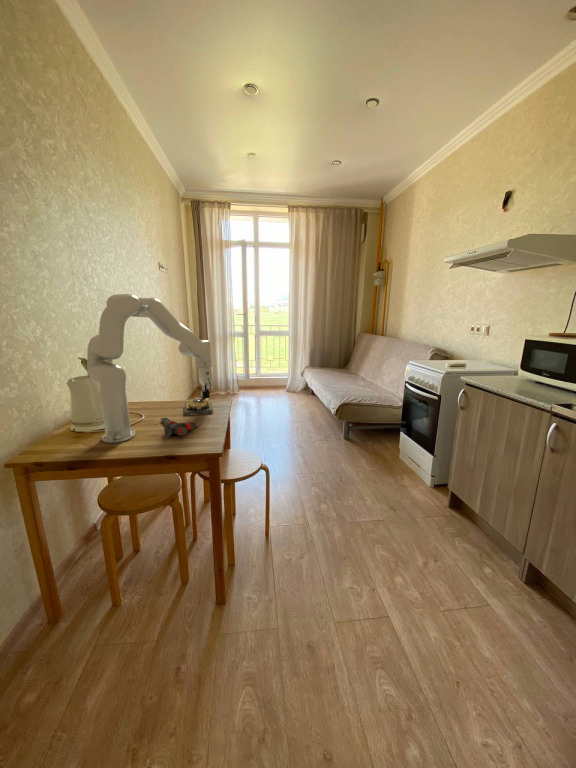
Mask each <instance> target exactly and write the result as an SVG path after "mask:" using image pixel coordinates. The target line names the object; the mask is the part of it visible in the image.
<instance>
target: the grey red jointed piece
mask: <svg viewBox="0 0 576 768" xmlns="http://www.w3.org/2000/svg"><path fill="white" fill-rule="evenodd" d="M160 420H161V421H162V422H163V423H165V424H164V429H163V430H164V435H165V436H166V437H167V438H170V437H171V436H172V434H173V435H174V434H175V435H178V436H186V435H187V434H188V432H192V431H193V430H194V428H197V427H198V424H197V423H196V422H191V421H190V422H188V421H187V422H176V421H173V420H171V419H170V418H168V417H166V416H165V417H160Z"/></svg>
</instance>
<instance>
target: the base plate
mask: <svg viewBox="0 0 576 768" xmlns="http://www.w3.org/2000/svg"><path fill="white" fill-rule="evenodd" d="M209 401H210V406H209V407H206V408H202V409H199V410H197V409H187V408H186V402H184V407H183V409H184V410H183V411H184V412H183V413H184V414H183V415H188V416H192V415H191V414H198V415H203V414H202V413H209V414H213V413H214V412H213V411H214V410H213V405H212V401H211V400H209Z"/></svg>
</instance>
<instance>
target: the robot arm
mask: <svg viewBox="0 0 576 768" xmlns="http://www.w3.org/2000/svg"><path fill="white" fill-rule="evenodd" d="M105 303H106V304H105V305H106V307H105V308H104V309H103V311H102V313H101V315H100V319H99V328H98V334H96V335H95V336H93V337H91V339H89V341H88V345H87V350H86V351H87V352H86V353H87V354H86V355H87V359H86V367H87V368H86V371H87V376H88V377H89V379H90V380H91V381H92V382H94V383H96V384H99V402H100V408H101V413H102V420H103V425H104V426H103V427H104V432H105V433H104V434H102V436H101V441H103V442H104V443H106V444H108V443H110V444H114V443H120V442H125V441H128V440H130V439H132V438H134V437H135V436H136V434H137V433H136V430H135V429H133V428H132V427H131V425H132V424H131V420H130V419H131V418H130V410H129V403H128V397H127V396H128V395H127V374H126V371H125V370H124V369H123V367H122V366H120V365H118V364H117V363H113V361H114V360H118V359H120V358H121V357H122V356H123V354H124V341H125V340H124V338H125V326H126V323H127V321H128V320H129V318H131V317H133V318H136V317H137V318H148V319H150V320H151V321H152V322H153V324H154V325H156V327H157V328H158V329H159V330H160V331H161V332H162V333H163V334H164V335H165V336H168V337H169V338H171V339H173V340H176V341H177V342H179V343H180V344H179V345H178V351H179V353H180V354H181V355H183V356H186V357H192V358H195V359H196V361H195V362H196V368H197V369H198V382H199V384H200V385H201V389H202V391H201V392H203V398H204V399H205V398H208V399H210V387H213V386H214V382H213V373H212V371H213V370H212V364H213V363H212V349H211V348H212V346H211V341H209V340H208V339H200V338H199V337H198V336H197V335H196V334H195V333H194V332H193V331H192V330H191V329H189V328H188V327H186V325H184V324H182V323H180V321H178V319H177V318H176V317H175V316H174V315H173V314H172V313H171V311H170V310H169V309H168V308H167V307H166V306H165V304H163V302H162V301H161V300H160V299H158V298H155V297H137V296H136V295H134V294H131V293H130V294H129V293H122V294H121V293H120V294H119V293H116V294H112V295H110V296H109V297H108V298H107V299H106V302H105Z"/></svg>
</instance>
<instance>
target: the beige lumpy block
mask: <svg viewBox="0 0 576 768" xmlns="http://www.w3.org/2000/svg"><path fill="white" fill-rule="evenodd" d="M210 401H211V400H210V398H205V399H204V398H203V392H202V391H200V397H195V398H191V399H187V400H186V401H185V403H186V408H187V409H197V410H199V409H202V408H206V407H209V406H210Z"/></svg>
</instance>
